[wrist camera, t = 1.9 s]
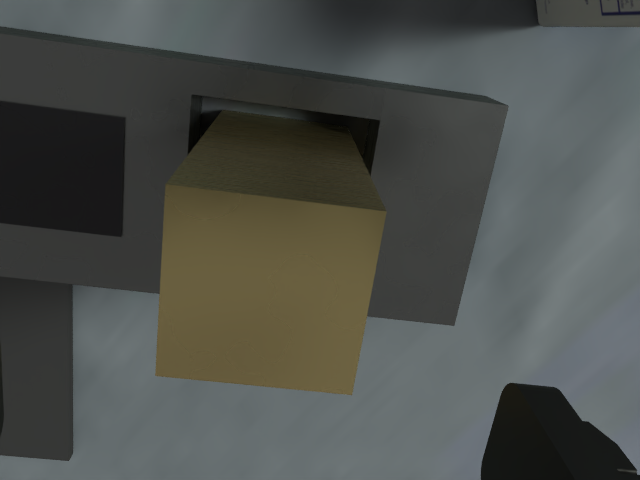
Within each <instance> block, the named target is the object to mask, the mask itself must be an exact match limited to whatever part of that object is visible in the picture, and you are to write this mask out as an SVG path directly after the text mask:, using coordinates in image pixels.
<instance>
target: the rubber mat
mask: <svg viewBox="0 0 640 480" xmlns="http://www.w3.org/2000/svg"><path fill="white" fill-rule="evenodd" d="M0 342H1V360H2V382H3V404H4V421H3V428H2V433H1V437H0V455H5V456H17V457H28V458H40V459H52V460H64V461H69V460H70V458H71V456H72V454H73V318H72V284H66V283H57V282H47V281H38V280H29V279H20V278H11V277H1V276H0Z"/></svg>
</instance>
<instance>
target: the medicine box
mask: <svg viewBox="0 0 640 480" xmlns="http://www.w3.org/2000/svg"><path fill="white" fill-rule="evenodd" d="M536 5H537V14H538V22H539V24H540V25H541V26H543V27H640V0H536Z"/></svg>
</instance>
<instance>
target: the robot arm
mask: <svg viewBox="0 0 640 480" xmlns="http://www.w3.org/2000/svg"><path fill="white" fill-rule="evenodd" d="M3 421H4V404H3V382H2V360H1V342H0V437H1V433H2V428H3ZM481 480H640V475H637V470H636V468H635V467H634V466H633V464H632V463H631V462H630V460H629V459H628V458H627V457H626V455H625V454H624V453H623V451H622V450H621V449H620V447H619V446H618V445H617V444H616V443H615V442H613V441H612V440H611V439H610V438H608V437H607V436H606V435H605V434H603V433H602V432H601V431H599V430H598V429H597V428H596V427H594V426H593V425H592V424H591V423H589V422H586V421H582V420H581V419H580V417H579V416H578V415H577V413H576V412H575V410H574V409H573V408H572V406H571V405H570V404H569V402H568V401H567V399H566V398H565V397H564V395H563V394H562V393H561V391H560V390H559V389H557V388H555V387H547V386H537V385H527V384H517V383H509V384H507V385H506V386H505V388H504V389H503V391H502V393H501V396H500V400H499V403H498V407H497V410H496V414H495V417H494V421H493V424H492V428H491V431H490V435H489V438H488V442H487V445H486V449H485V453H484V456H483V460H482V466H481Z"/></svg>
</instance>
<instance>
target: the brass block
mask: <svg viewBox="0 0 640 480" xmlns="http://www.w3.org/2000/svg"><path fill="white" fill-rule="evenodd" d="M386 213H387V211H386V209H385V207H384V205H383V203H382V200H381V198H380V196H379V194H378V192H377V190H376V187H375V185H374V183H373V181H372V179H371V177H370V175H369V172H368V170H367V168H366V166H365V164H364V162H363V159H362V157H361V155H360V153H359V151H358V149H357V146H356V144H355V142H354V140H353V138H352V136H351V133H350V131H349V129H348V127H347V126H340V125H332V124H325V123H318V122H310V121H303V120H296V119H288V118H281V117H274V116H266V115H259V114H251V113H244V112H237V111H229V110H222V111H221V113H220V114H219V115H218V117H217V118H216V119H215V120H214V122H213V123H212V124H211V126H210V127H209V128H208V130H207V131H206V132H205V133H204V135H203V136H202V137H201V139H200V140H199V141H198V143H197V144H196V145H195V146H194V148H193V149H192V150H191V152H190V153H189V154H188V155H187V157H186V158H185V159H184V161H183V162H182V163H181V165H180V166H179V167H178V168H177V170H176V171H175V172H174V174H173V175H172V176H171V178H170V179H169V180H168V181H167V183H166V184H165V202H164V221H163V240H162V259H161V278H160V297H159V316H158V335H157V354H156V374H155V376H162V377H172V378H183V379H193V380H203V381H213V382H224V383H234V384H244V385H255V386H265V387H275V388H286V389H296V390H306V391H316V392H327V393H337V394H347V395H352V392H353V387H354V382H355V376H356V371H357V366H358V361H359V355H360V350H361V345H362V339H363V334H364V329H365V324H366V318H367V313H368V308H369V302H370V297H371V292H372V287H373V281H374V276H375V271H376V265H377V260H378V255H379V250H380V244H381V239H382V234H383V228H384V223H385V218H386Z"/></svg>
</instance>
